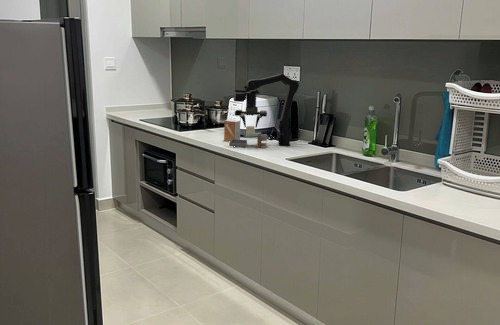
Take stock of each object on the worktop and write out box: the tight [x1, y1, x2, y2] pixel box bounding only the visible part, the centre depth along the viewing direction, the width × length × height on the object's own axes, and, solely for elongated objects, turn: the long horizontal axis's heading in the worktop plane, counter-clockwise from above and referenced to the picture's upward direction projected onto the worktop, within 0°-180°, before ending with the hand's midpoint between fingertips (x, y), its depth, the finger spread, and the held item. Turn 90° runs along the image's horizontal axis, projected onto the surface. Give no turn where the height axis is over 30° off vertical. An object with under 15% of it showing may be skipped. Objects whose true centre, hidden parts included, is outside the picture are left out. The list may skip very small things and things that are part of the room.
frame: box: [256, 131, 267, 149], centre depth 287 cm, size 5×13×8 cm, turn 175°
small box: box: [223, 119, 241, 142], centre depth 300 cm, size 8×6×13 cm
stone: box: [245, 125, 256, 135], centre depth 286 cm, size 5×5×4 cm
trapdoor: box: [244, 132, 268, 142], centre depth 287 cm, size 12×9×4 cm
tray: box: [228, 139, 248, 148], centre depth 288 cm, size 9×12×2 cm
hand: (250, 127), depth 286 cm, fingers open, 6 cm apart
